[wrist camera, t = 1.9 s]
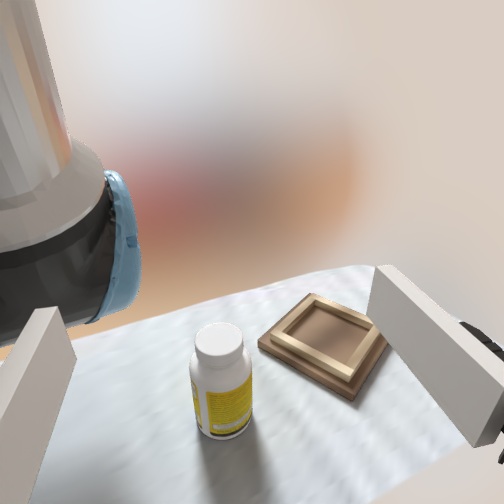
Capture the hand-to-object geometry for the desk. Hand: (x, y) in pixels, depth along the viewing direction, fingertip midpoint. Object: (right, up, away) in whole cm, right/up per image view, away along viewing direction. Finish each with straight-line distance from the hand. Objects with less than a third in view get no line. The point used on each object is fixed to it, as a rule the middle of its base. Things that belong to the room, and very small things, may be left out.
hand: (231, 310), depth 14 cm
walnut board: (+10, -8, +26) cm, 29 cm away
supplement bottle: (-2, -13, +18) cm, 22 cm away
